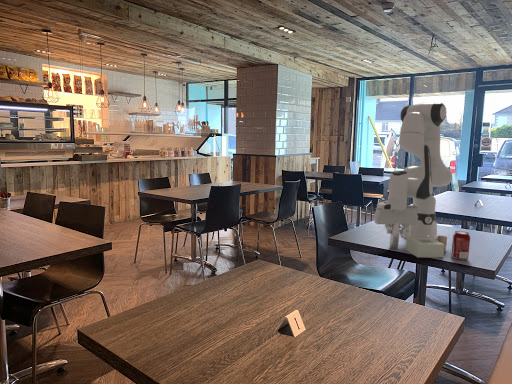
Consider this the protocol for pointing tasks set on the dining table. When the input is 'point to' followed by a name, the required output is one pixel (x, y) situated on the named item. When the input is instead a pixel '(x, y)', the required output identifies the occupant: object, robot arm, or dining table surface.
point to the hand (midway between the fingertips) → (394, 233)
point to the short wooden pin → (443, 241)
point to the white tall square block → (394, 236)
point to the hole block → (424, 247)
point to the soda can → (460, 245)
